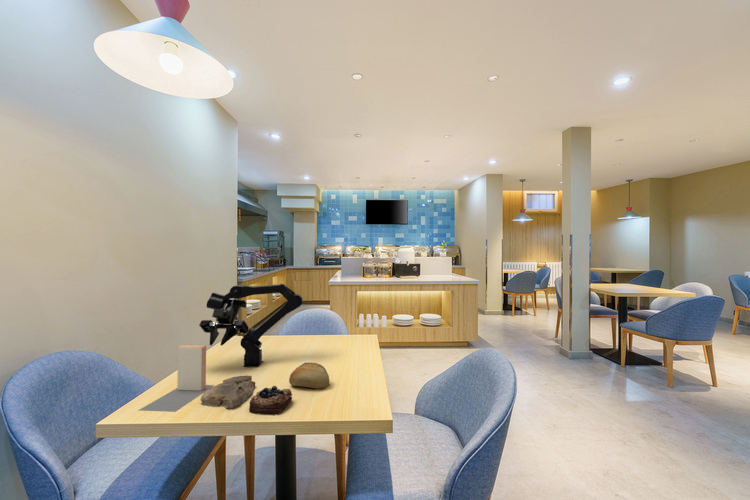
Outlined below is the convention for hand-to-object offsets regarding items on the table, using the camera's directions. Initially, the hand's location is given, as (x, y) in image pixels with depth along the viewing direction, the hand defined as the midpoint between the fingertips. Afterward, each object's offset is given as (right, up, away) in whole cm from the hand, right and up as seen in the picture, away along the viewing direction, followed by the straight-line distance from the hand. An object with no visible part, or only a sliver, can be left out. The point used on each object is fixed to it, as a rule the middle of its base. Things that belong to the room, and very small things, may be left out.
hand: (215, 345), depth 125 cm
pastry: (+30, -12, -25) cm, 41 cm away
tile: (-2, -12, -13) cm, 18 cm away
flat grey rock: (+14, -13, -17) cm, 25 cm away
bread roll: (+39, -13, -9) cm, 42 cm away
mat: (-2, -12, -19) cm, 23 cm away
